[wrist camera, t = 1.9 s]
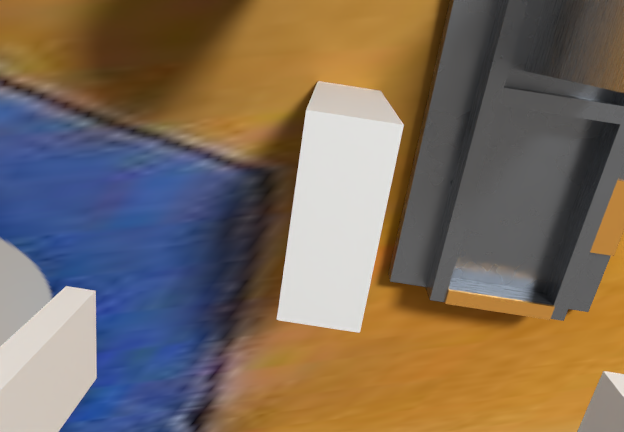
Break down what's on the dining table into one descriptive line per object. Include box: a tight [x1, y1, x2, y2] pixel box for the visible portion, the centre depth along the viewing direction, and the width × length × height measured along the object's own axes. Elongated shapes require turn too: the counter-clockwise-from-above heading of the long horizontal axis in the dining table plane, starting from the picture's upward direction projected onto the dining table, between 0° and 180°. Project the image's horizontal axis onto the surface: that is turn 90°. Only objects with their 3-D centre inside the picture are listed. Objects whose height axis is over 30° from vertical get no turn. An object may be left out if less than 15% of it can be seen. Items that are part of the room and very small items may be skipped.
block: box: [277, 81, 404, 333], centre depth 27 cm, size 4×10×12 cm, turn 172°
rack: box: [388, 0, 624, 321], centre depth 25 cm, size 14×27×13 cm, turn 172°
